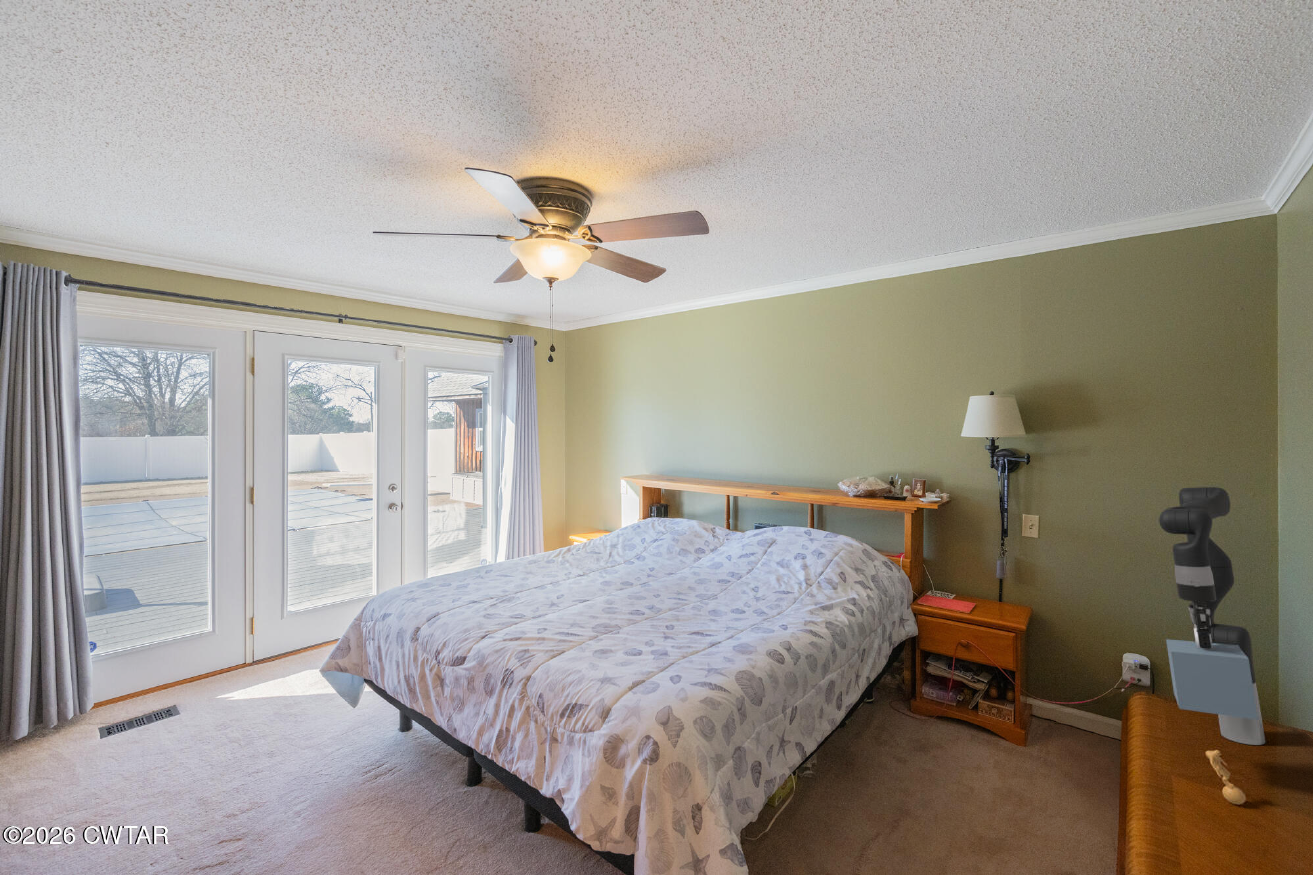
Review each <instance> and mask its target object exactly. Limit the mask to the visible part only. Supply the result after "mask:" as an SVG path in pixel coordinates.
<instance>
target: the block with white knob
mask: <svg viewBox="0 0 1313 875" xmlns="http://www.w3.org/2000/svg"><path fill="white" fill-rule="evenodd" d="M1201 629H1204V628H1201ZM1196 630H1197V629H1196V628H1194V627H1193V631H1194V639H1195V641H1191V640H1179V639H1168V638H1167V639H1165V642H1166V647H1167V648H1166V649H1167V654H1168V661H1169V662H1168V663H1169V668H1170V675H1171V683H1172V688H1173V694H1174V697H1175V700H1176V703H1177V706H1178V708H1179V709H1180V710H1185V711H1193V712H1200V713H1207V714H1213V715H1214V714H1215V715H1218V714H1220V715H1227V716H1235V717H1242V718H1249V719H1256V720H1258V716H1257V709H1256V703H1255V697H1254V691H1253V684H1252V678H1251V672H1250V665H1249V659H1248V658H1247V656H1246V655H1245V654H1244V652H1243V651H1242V650H1241V648H1240V647H1239V646H1238V645H1228V644H1216V643H1212V640H1211V634H1210V635H1209V636H1210V643H1211V649H1206V648H1201V647H1200V646H1199V639H1198V634H1197V632H1196Z"/></svg>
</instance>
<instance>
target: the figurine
mask: <svg viewBox="0 0 1313 875" xmlns="http://www.w3.org/2000/svg"><path fill="white" fill-rule="evenodd" d="M1205 756H1206V757H1207V759H1209V762H1210V764H1211V766H1212V768H1213V769H1214V771H1215V772H1216V773H1217V775H1218V777H1219V778H1221V779H1222V782H1223V783H1224V785H1225V786H1224V787H1223V788H1222V795H1223V797H1224V798H1225V799H1226V801H1227V802H1229V803H1231V804H1233V805H1243V804H1244V803H1245V802H1246V795H1245V793H1244V792H1243V790H1241V789H1240V788H1239V787H1237V786H1235V785H1234V784H1233V783H1231V782H1229V779H1230V776H1231V772H1230V771H1228V770H1227V769H1226V767H1224V766H1223V765H1222V763H1223V764H1224V765H1225V766H1227V767H1228V765H1227V763H1226V762H1225V761H1224V760H1223V758H1221V757H1220V756H1222V754H1221V751H1220V750H1218V749H1216V750H1207V751H1205ZM1221 762H1222V763H1221Z"/></svg>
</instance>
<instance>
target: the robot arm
mask: <svg viewBox="0 0 1313 875" xmlns="http://www.w3.org/2000/svg"><path fill="white" fill-rule="evenodd" d="M1178 502H1179V506H1178V505H1177V506H1173V507H1168V508H1165V509H1164V510H1163V511H1161V513H1160V514H1159V517H1158V522H1159V526H1160V527H1161V529H1162V531H1165V532H1166V533H1168V534H1171V535H1186V538H1187V541H1184V542H1179V543H1175V544H1173V545H1172V555H1173V556H1172V557H1173V561H1174V576H1175V581H1176V582H1175V583H1176V588H1177V596H1178V598H1179V599H1180V600H1182V601H1183V600H1184V601H1188V602H1189V601H1190V603H1189V604H1188V605H1187V608H1188V611H1189V616H1190V620H1191V622H1192V623H1191V624H1192V625H1193V629H1194V628H1196V629H1197V630H1196V632H1197V634H1198V639H1199V646H1200V647H1201V648H1206V649H1211V643H1210V636H1209V635H1210V634H1211V640H1212V643H1216V644H1228V645H1238V646H1239V647H1240V648H1241V650H1242V651H1243V652H1244V654H1245V655H1246V656H1247V658H1248V659H1249V665H1250V672H1251V678H1252V684H1253V691H1254V697H1255V703H1256V709H1257V716H1258V720H1256V719H1249V718H1242V717H1235V716H1227V715H1220V714H1217V715H1218V716H1217V717H1218V723H1219V730H1220V734H1221V735H1220V736H1222V737H1224V738H1225V739H1227V740H1230V741H1233V742H1235V743H1240V744H1245V745H1254V746H1260V745H1264V744H1266V739H1265V738H1266V737H1265V733H1264V726H1263V725H1264V724H1263V718H1262V713H1261V707H1260V700H1259V693H1258V688H1257V682H1256V673H1255V666H1254V659H1253V658H1254V657H1253V647H1252V639H1251V634H1250V632H1249V631H1248V630H1247V628H1245V627H1244V626H1237V625H1230V624H1221V623H1215V619H1214V618H1215V613H1216V610H1217V608H1218V607H1219V605H1220V603H1221V602H1222V601H1223V599H1224V598H1225V597H1226V596H1227V594H1228V593H1229V592H1230V591H1231V589H1232V587H1233V586H1234V583H1235V578H1234V576H1235V575H1234V571H1233V570H1234V569H1233V564H1232V560H1231V559H1230V558H1231V557H1229V555H1228V554H1227V553H1226V552H1225V551H1224V550H1223V549H1222V548H1221V547H1220V546H1219V545H1218V544H1217V543H1216V542H1214V541H1213V540H1212V539H1211V538H1210V535H1211V531H1212V526H1213V519H1216V518H1219V517H1220V518H1221V517H1225V516H1227V515H1228V514H1229V513H1230V511H1231V501H1230V496H1229V493H1228V492H1227V491H1226V490H1225V489H1224V488H1222V487H1217V486H1216V487H1214V486H1203V487H1184V488H1181V489H1180V490H1179V493H1178ZM1201 628H1204V629H1201Z"/></svg>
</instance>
